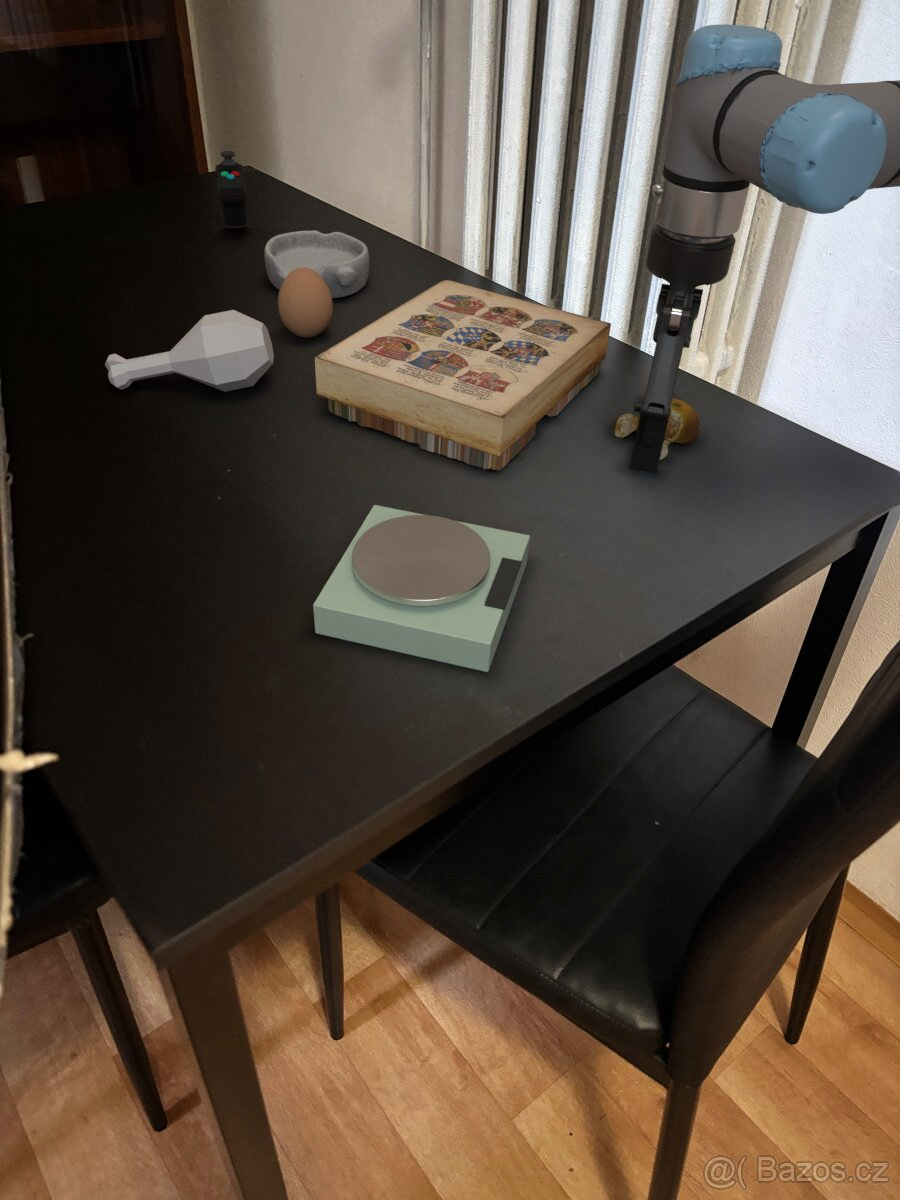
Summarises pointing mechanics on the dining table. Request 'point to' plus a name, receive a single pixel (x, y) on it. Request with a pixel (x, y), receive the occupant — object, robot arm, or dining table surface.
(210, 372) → the chicken leg
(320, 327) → the egg
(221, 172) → the controller
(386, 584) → the scale pan
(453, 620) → the scale
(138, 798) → the dining table surface
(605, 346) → the book
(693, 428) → the fruit
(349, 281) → the dish
